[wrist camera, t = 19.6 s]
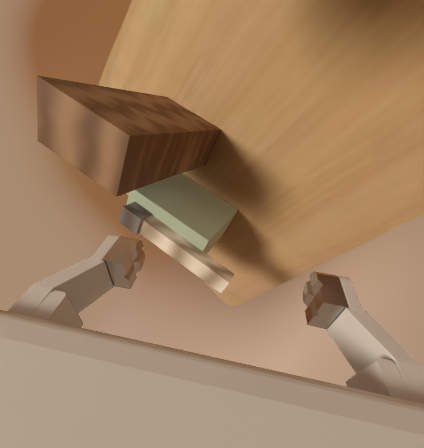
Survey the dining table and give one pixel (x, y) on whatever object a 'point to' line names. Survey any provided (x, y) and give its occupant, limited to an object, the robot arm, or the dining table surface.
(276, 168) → the dining table surface
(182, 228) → the box
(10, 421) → the robot arm
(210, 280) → the baton
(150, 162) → the brown wooden block
